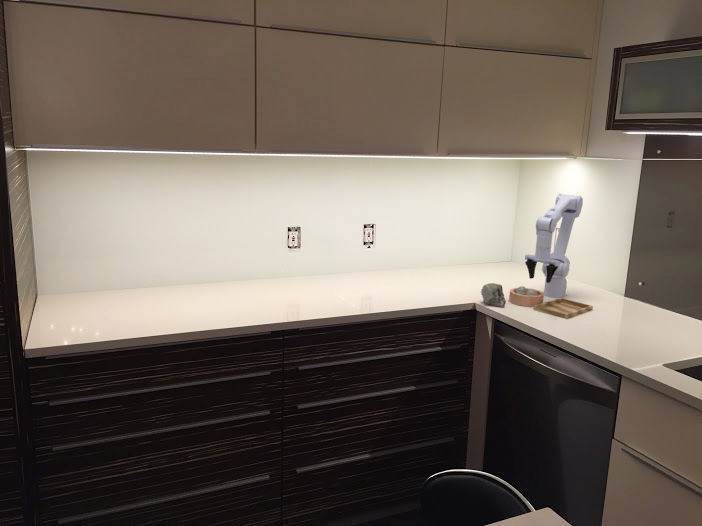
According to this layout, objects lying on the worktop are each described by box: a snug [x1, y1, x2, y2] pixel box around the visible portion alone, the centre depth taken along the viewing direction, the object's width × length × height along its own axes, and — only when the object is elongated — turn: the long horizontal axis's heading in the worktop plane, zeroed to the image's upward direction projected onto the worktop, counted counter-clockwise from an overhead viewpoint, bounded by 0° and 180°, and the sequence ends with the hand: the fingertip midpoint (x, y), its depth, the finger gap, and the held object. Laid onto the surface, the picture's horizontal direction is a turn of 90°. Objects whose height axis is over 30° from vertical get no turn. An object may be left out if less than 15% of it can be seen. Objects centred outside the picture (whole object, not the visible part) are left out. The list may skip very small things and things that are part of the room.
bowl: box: [508, 287, 545, 308], centre depth 247 cm, size 13×13×5 cm
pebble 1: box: [516, 285, 527, 295], centre depth 249 cm, size 4×4×6 cm
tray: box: [533, 297, 594, 320], centre depth 238 cm, size 20×14×2 cm
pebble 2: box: [526, 288, 537, 296], centre depth 245 cm, size 4×4×6 cm
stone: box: [480, 282, 506, 308], centre depth 243 cm, size 10×10×10 cm
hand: (539, 280), depth 244 cm, fingers open, 7 cm apart
